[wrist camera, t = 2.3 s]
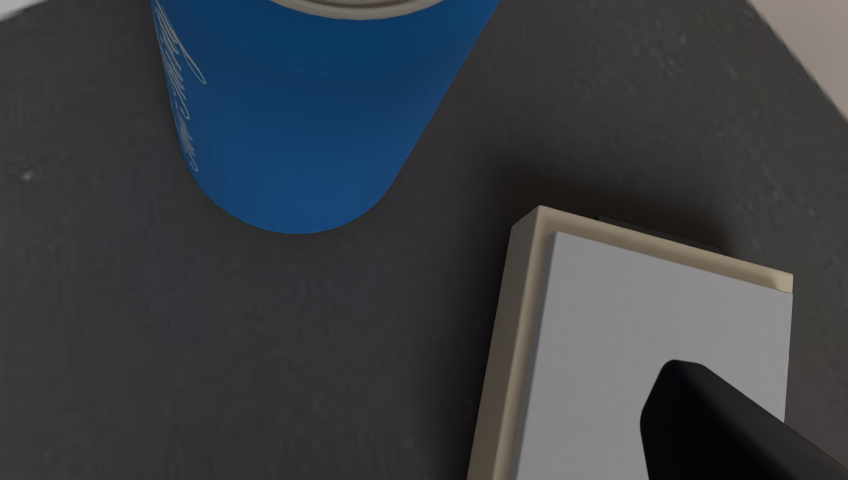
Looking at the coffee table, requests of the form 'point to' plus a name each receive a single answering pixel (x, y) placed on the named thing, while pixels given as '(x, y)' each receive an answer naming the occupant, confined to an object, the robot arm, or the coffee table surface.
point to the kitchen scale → (614, 342)
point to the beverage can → (307, 97)
